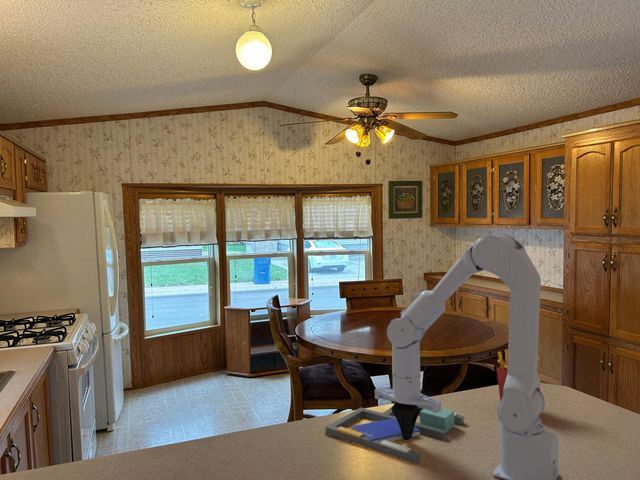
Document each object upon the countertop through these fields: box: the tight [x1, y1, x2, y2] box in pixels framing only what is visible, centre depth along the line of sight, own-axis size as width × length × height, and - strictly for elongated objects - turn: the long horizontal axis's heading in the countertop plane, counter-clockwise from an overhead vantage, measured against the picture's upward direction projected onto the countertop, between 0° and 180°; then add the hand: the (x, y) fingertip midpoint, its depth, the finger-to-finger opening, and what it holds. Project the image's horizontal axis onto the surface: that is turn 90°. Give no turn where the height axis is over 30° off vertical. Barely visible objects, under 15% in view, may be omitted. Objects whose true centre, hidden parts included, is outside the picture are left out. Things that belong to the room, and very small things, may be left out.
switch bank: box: [382, 407, 465, 426], centre depth 111 cm, size 16×10×2 cm, turn 52°
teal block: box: [419, 407, 455, 433], centre depth 108 cm, size 6×5×4 cm
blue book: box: [350, 419, 421, 442], centre depth 105 cm, size 2×8×12 cm
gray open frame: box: [325, 407, 448, 464], centre depth 104 cm, size 22×14×2 cm, turn 52°
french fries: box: [496, 348, 542, 402], centre depth 119 cm, size 9×8×15 cm
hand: (407, 438), depth 101 cm, fingers closed
